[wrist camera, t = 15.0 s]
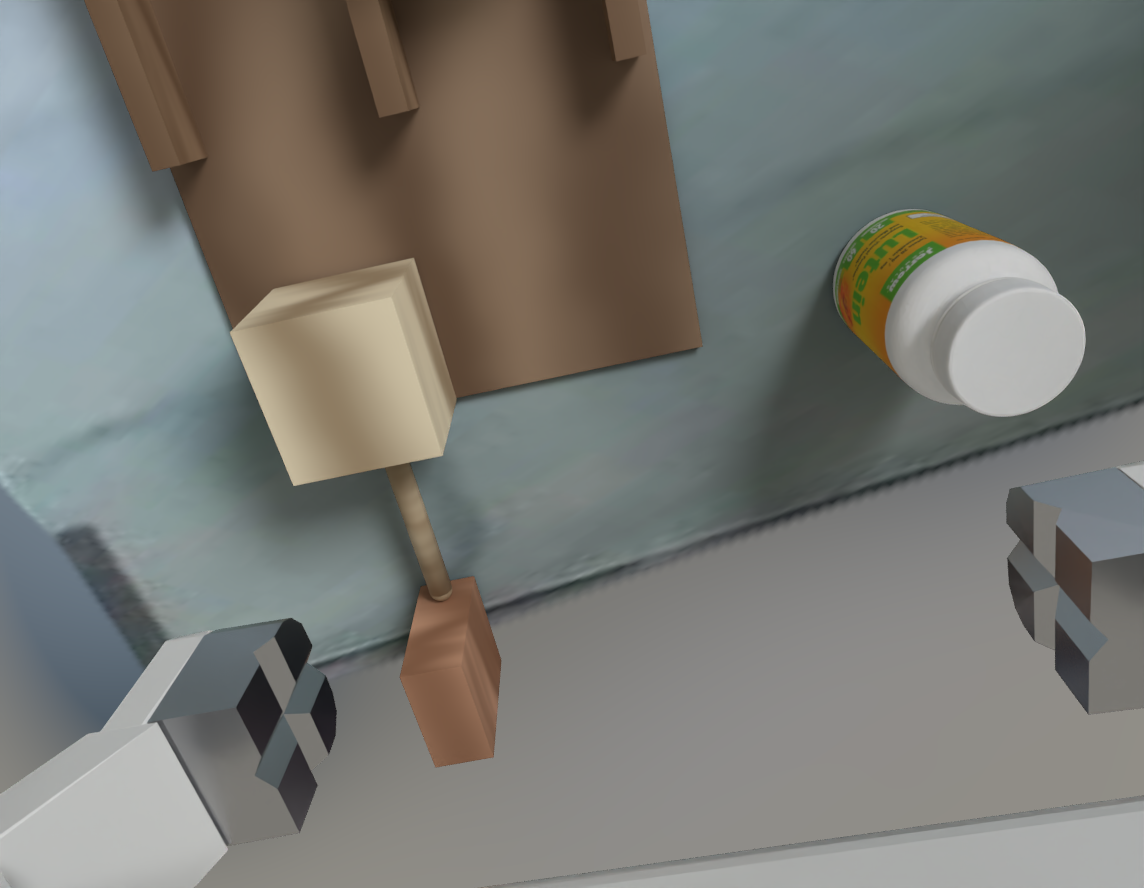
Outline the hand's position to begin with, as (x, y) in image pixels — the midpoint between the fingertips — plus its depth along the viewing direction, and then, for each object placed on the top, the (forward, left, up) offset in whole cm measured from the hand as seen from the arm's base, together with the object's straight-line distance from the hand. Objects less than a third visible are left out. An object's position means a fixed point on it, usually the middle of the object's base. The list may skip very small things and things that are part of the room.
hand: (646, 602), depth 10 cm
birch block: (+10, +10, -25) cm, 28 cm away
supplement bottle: (-11, +5, -25) cm, 28 cm away
